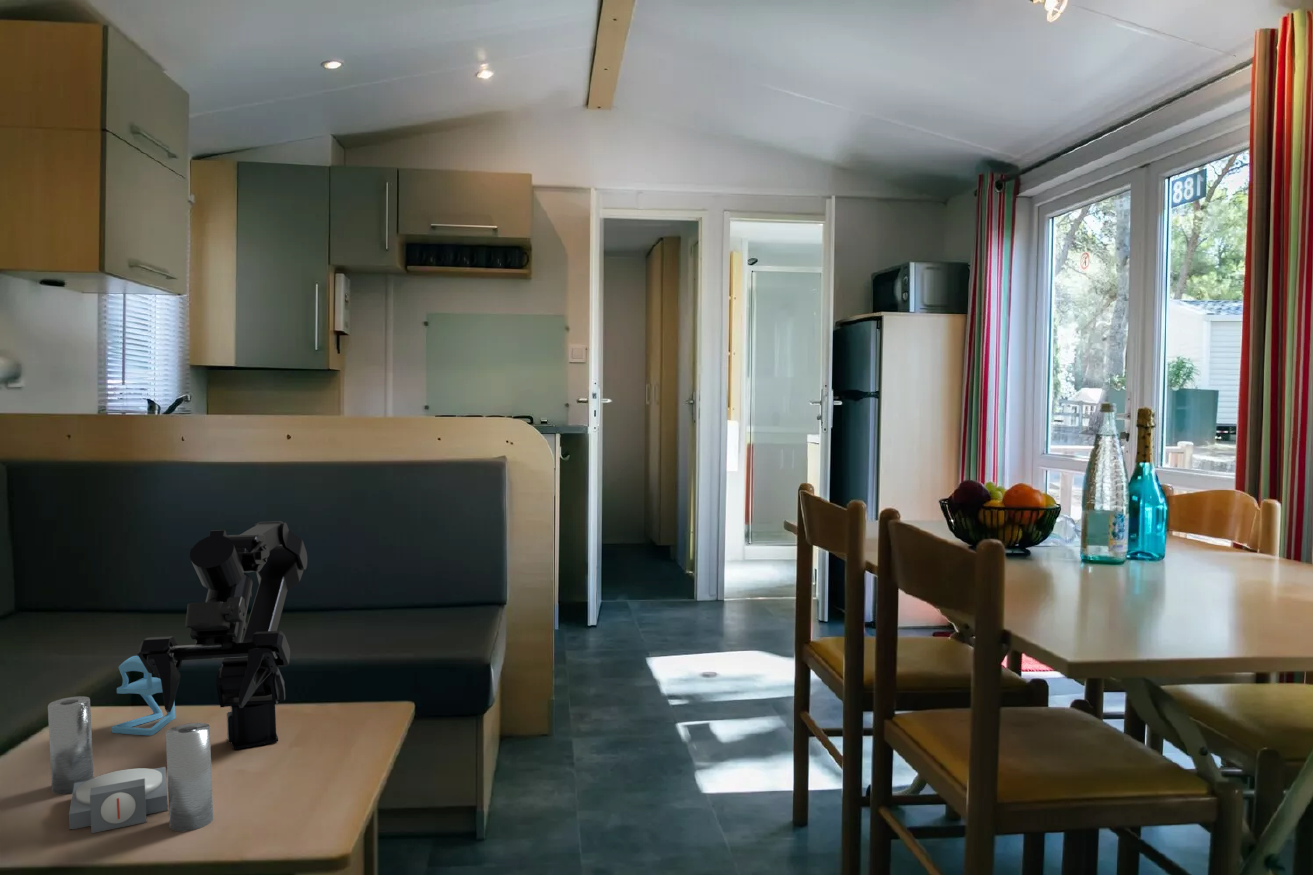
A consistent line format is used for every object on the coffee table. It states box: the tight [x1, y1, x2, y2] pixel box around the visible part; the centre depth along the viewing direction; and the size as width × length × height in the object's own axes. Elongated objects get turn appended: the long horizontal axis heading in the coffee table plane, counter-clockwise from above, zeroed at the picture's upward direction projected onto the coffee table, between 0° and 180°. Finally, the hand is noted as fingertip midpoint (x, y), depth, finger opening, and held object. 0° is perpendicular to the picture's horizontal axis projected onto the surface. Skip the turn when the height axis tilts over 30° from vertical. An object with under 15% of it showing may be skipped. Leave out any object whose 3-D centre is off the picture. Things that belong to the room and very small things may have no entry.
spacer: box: [47, 696, 95, 795], centre depth 132 cm, size 5×5×12 cm
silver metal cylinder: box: [165, 722, 214, 832], centre depth 120 cm, size 5×5×12 cm
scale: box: [68, 766, 169, 834], centre depth 125 cm, size 11×14×5 cm
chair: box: [111, 655, 176, 737], centre depth 156 cm, size 8×8×12 cm
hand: (204, 708), depth 126 cm, fingers open, 9 cm apart
